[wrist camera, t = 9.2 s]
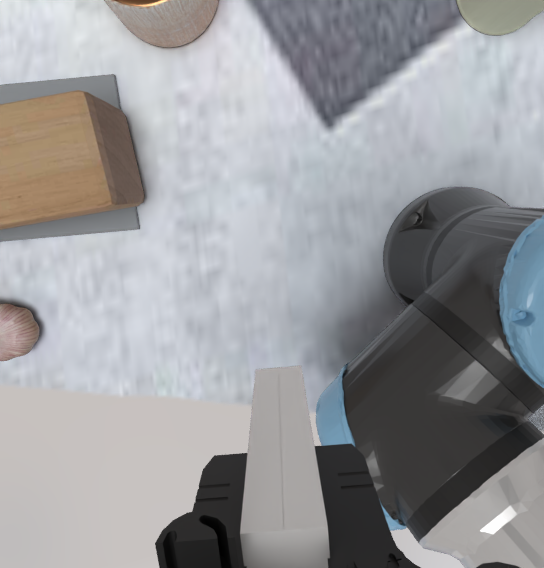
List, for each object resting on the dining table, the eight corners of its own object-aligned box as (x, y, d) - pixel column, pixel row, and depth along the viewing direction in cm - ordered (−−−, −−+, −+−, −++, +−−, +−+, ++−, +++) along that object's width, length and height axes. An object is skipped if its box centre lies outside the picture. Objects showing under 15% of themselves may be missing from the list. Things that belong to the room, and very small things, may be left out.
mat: (115, 75, 42) (113, 74, 42) (140, 228, 46) (138, 229, 46) (-73, 93, 43) (-78, 92, 42) (-34, 244, 46) (-38, 244, 46)
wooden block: (149, 204, 45) (-25, 234, 46) (126, 108, 43) (-56, 141, 43) (115, 208, 35) (-105, 246, 36) (84, 84, 33) (-150, 127, 34)
